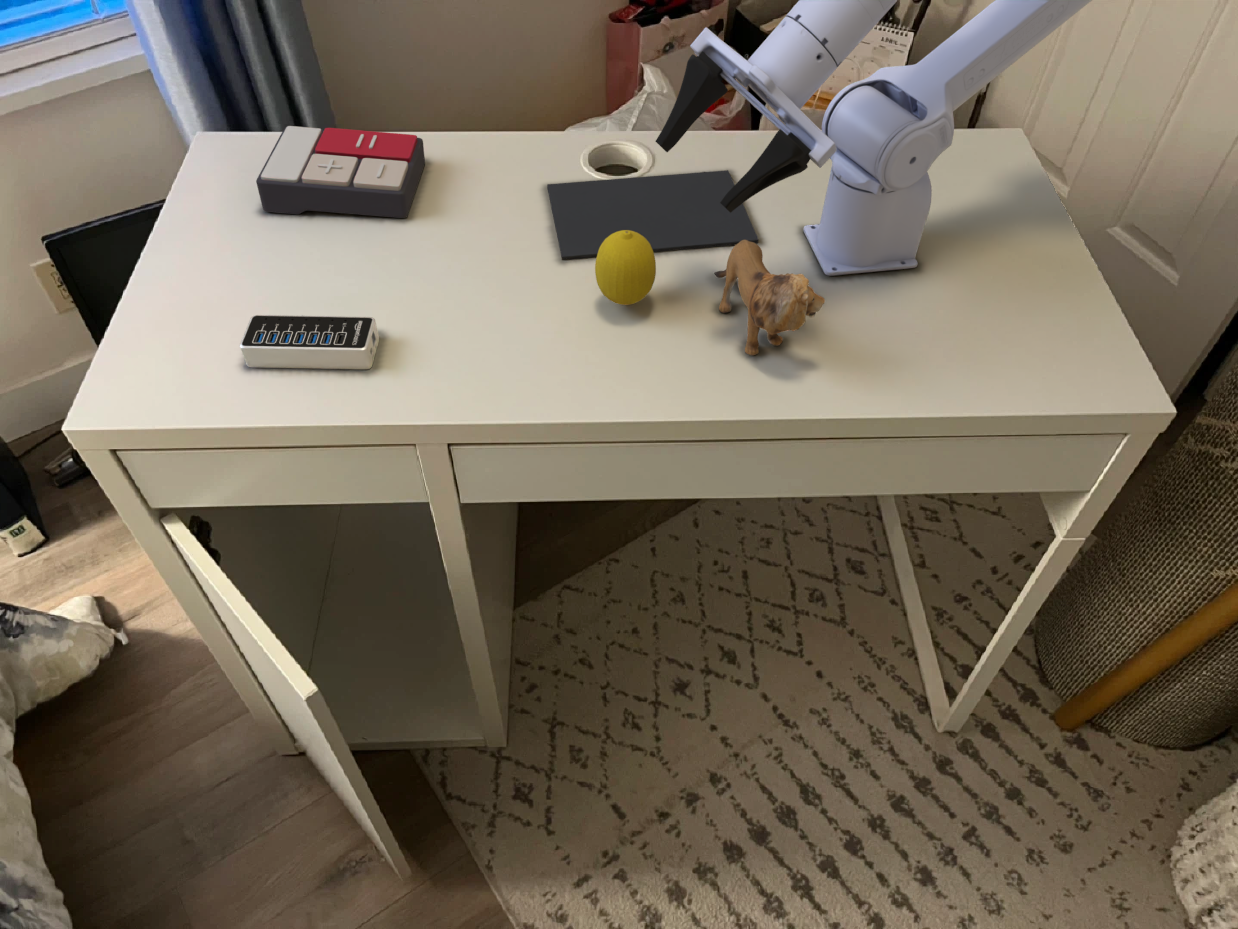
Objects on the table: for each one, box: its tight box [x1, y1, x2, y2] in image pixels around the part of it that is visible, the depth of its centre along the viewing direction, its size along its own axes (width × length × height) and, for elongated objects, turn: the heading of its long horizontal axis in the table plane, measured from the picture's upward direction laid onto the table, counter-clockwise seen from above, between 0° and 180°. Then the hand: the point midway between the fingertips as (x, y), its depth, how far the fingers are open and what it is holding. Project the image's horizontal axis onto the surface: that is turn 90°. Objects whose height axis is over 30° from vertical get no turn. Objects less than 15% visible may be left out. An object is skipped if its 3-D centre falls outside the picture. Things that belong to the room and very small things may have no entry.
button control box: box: [255, 125, 426, 219], centre depth 99 cm, size 11×4×15 cm
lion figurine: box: [713, 240, 826, 356], centre depth 83 cm, size 15×5×9 cm, turn 25°
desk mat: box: [546, 169, 760, 261], centre depth 98 cm, size 20×13×1 cm, turn 99°
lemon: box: [594, 230, 657, 306], centre depth 86 cm, size 6×6×8 cm
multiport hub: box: [239, 314, 380, 370], centre depth 83 cm, size 4×11×2 cm, turn 89°
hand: (692, 177), depth 78 cm, fingers open, 7 cm apart
